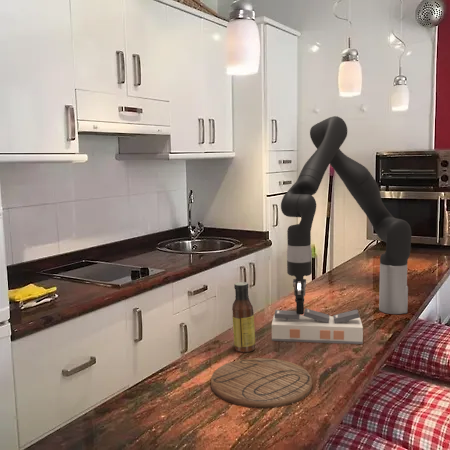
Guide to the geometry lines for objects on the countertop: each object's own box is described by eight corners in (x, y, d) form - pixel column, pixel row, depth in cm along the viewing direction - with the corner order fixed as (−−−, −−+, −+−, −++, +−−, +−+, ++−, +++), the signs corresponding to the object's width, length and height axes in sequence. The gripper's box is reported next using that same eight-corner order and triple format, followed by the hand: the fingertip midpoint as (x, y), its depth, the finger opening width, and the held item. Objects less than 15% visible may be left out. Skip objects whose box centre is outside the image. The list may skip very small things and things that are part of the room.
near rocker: (359, 314, 161) (357, 309, 160) (360, 318, 157) (358, 313, 156) (334, 320, 162) (333, 315, 162) (335, 324, 158) (333, 319, 158)
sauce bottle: (257, 346, 154) (256, 281, 152) (252, 354, 148) (250, 286, 146) (236, 344, 156) (235, 280, 154) (230, 351, 151) (228, 285, 148)
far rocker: (299, 316, 164) (299, 310, 163) (299, 320, 160) (299, 314, 160) (275, 315, 165) (275, 309, 165) (274, 319, 161) (274, 313, 161)
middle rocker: (327, 320, 162) (329, 314, 162) (327, 324, 158) (329, 318, 158) (303, 313, 163) (305, 307, 163) (303, 317, 159) (305, 311, 159)
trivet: (190, 386, 130) (190, 378, 130) (257, 357, 147) (257, 350, 147) (265, 421, 112) (265, 412, 112) (332, 383, 130) (332, 376, 129)
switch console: (359, 332, 164) (359, 317, 164) (362, 344, 154) (363, 328, 154) (274, 329, 169) (274, 314, 168) (271, 340, 159) (271, 325, 158)
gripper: (311, 263, 152) (312, 320, 154) (311, 254, 165) (312, 307, 167) (285, 263, 153) (286, 320, 156) (288, 254, 166) (288, 307, 169)
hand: (300, 313), depth 162 cm, fingers closed
